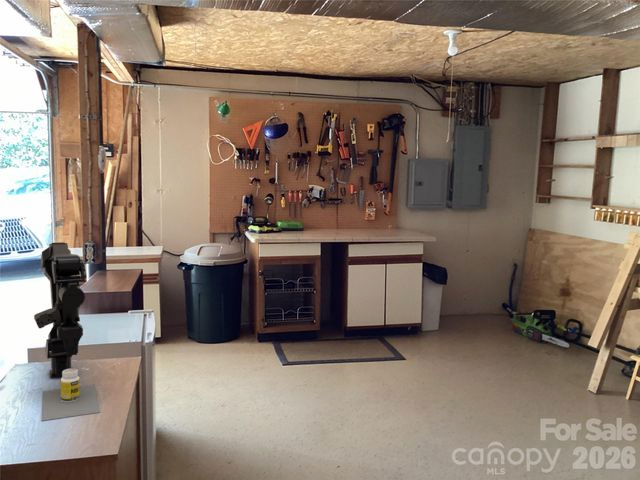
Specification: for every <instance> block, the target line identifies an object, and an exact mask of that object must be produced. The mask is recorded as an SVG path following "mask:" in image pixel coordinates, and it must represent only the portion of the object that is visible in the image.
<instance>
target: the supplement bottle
mask: <svg viewBox="0 0 640 480" xmlns="http://www.w3.org/2000/svg"><path fill="white" fill-rule="evenodd" d="M60 378H61V379H60V389H61V401H62V402H65V403H71V402H75V401H77V400H78V399H79V397H80V386H81V385H80V384H81V383H80V380H81V378H80V376H79V369H77V368H73V367H72V368H71V369H66V370H63V371H62V377H60Z"/></svg>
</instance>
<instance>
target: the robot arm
mask: <svg viewBox="0 0 640 480" xmlns="http://www.w3.org/2000/svg"><path fill="white" fill-rule="evenodd" d="M40 266H41V269H43V274H44V276H45V277H46V279H47V280H48V281H49V287H50V301H51V308H48V309H45V310H42V311H40V312H38V313H34V315H33V318H34V321H35V323H36V325H37V328H38V329H43V328H45V327H46V326H49V325H51V324H52V328H51V329H50V332H49V333H48V336H47V337H48V338H47V339H46V342H45V346H44V349H45V350H44V351H45V357H46V359H48V360H49V359H50V365H51V366H50V370H49V378H50V379H55V378H62V371H63V370H66V369H71V368H73V367H72V358H73V356H77V355H78V354H79V344H80V340H81V338H82V337H83V336H84V327H83V325H82V324H81V323H80V320H81V318H80V307H81V305H83V304H84V302H85V300H86V295H85V292H84V291H83V290H82V288H81V287H80V283H81V282H83V283H84V282H85V281H86V278H87V271H86V265H85V262H84V260H83V258H81V257H80V255H78V254H75V253H72V252H71V249H70V248H69V246H68V242H64V241H62V242H51V243H49V244H48V247H47V248H46V249H44V250H42V251H41V256H40Z"/></svg>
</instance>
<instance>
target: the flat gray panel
mask: <svg viewBox="0 0 640 480" xmlns="http://www.w3.org/2000/svg"><path fill="white" fill-rule="evenodd" d="M79 386H80V397H79V399H78V400H77V401H75V402H71V403H65V402H62V401H61V388H57V389H49V390H43V391H42V399H41V418H40V421H41V422H45V421H46V422H47V421H53V420H59V419H60V420H61V419H65V418H66V419H67V418H73V417H80V416H85V415H87V416H88V415H92V414H93V415H94V414H100V413H101V408H100V401H99V398H98V391H97V387H96V384H87V385H79Z"/></svg>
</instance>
